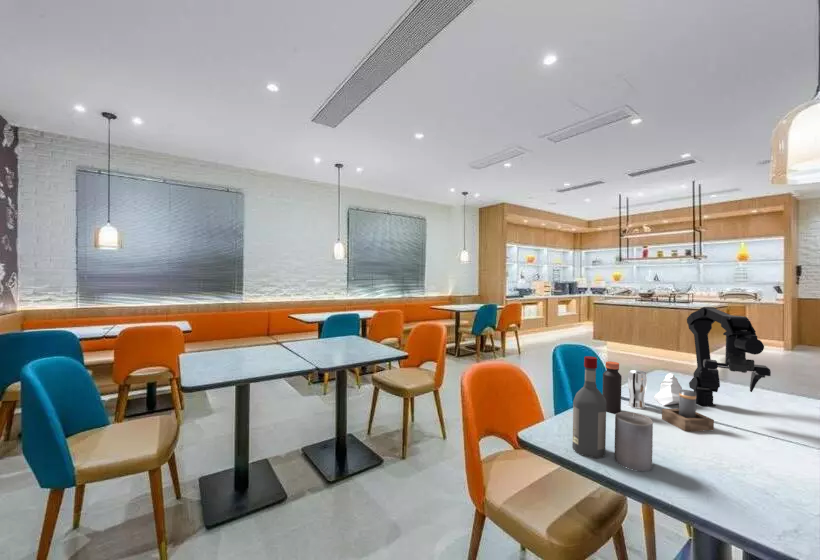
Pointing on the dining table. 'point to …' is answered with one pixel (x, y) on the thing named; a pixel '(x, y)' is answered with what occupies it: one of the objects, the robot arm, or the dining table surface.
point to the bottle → (612, 387)
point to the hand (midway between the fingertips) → (734, 389)
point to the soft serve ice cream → (669, 391)
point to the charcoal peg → (687, 403)
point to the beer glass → (637, 388)
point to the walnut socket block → (687, 421)
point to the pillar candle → (633, 441)
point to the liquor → (589, 415)
